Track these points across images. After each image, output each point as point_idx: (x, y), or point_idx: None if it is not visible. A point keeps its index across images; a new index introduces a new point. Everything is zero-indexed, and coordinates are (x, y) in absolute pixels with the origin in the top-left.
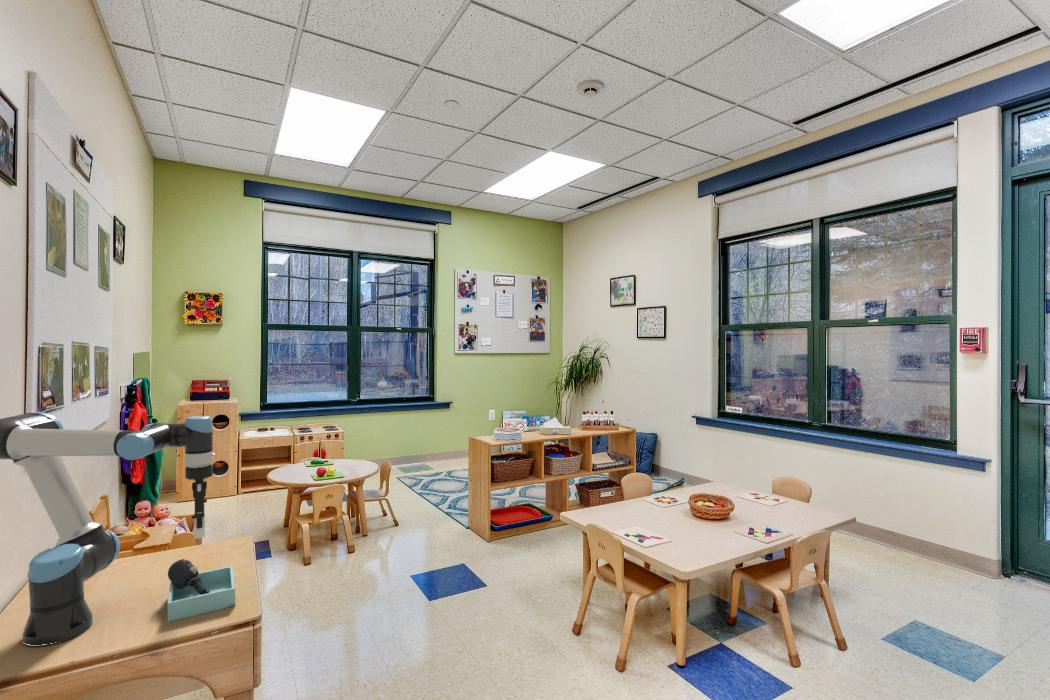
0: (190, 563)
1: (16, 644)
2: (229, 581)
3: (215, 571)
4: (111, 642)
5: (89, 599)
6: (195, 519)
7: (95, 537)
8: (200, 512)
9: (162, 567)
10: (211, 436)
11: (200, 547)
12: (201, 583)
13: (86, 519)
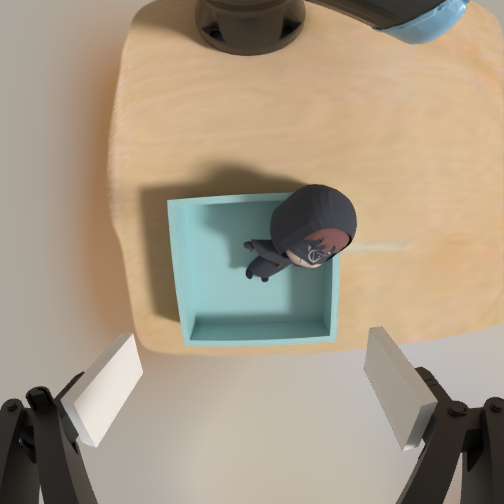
0: (316, 253)
1: None
2: (319, 318)
3: (330, 301)
4: (147, 109)
5: (382, 44)
6: (69, 399)
7: None
8: (390, 393)
9: (478, 171)
10: None
11: None
12: (276, 269)
13: None
